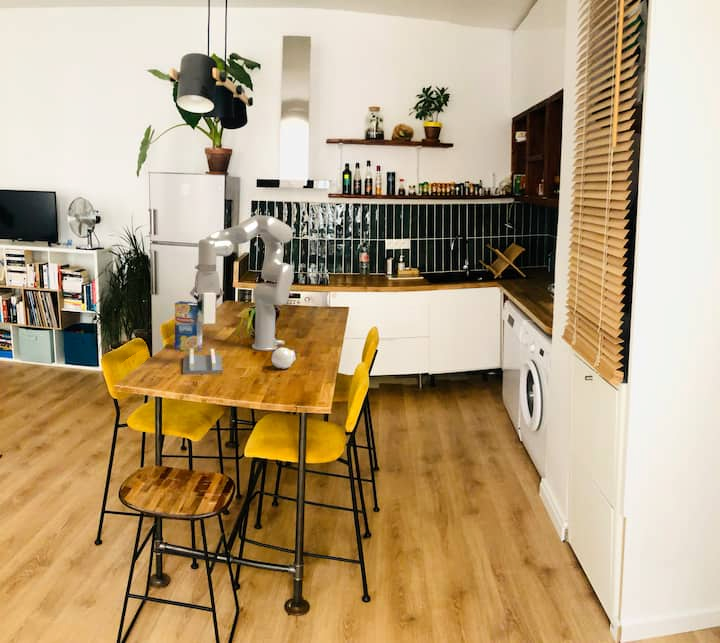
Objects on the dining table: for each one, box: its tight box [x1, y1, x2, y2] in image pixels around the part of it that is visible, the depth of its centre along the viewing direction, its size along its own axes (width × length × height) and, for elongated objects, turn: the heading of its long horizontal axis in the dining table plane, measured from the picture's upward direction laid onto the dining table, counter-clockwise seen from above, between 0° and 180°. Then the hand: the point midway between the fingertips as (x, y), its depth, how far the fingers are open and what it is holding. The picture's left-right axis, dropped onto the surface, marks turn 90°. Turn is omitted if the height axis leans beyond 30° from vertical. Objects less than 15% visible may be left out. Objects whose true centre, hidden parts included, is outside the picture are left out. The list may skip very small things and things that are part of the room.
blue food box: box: [174, 300, 203, 352], centre depth 336 cm, size 7×11×22 cm, turn 80°
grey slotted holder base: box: [182, 348, 224, 375], centre depth 308 cm, size 16×26×4 cm, turn 13°
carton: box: [198, 293, 217, 325], centre depth 309 cm, size 5×9×13 cm, turn 28°
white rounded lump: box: [271, 346, 298, 370], centre depth 312 cm, size 9×10×15 cm
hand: (206, 309), depth 309 cm, fingers closed on carton, 5 cm apart
